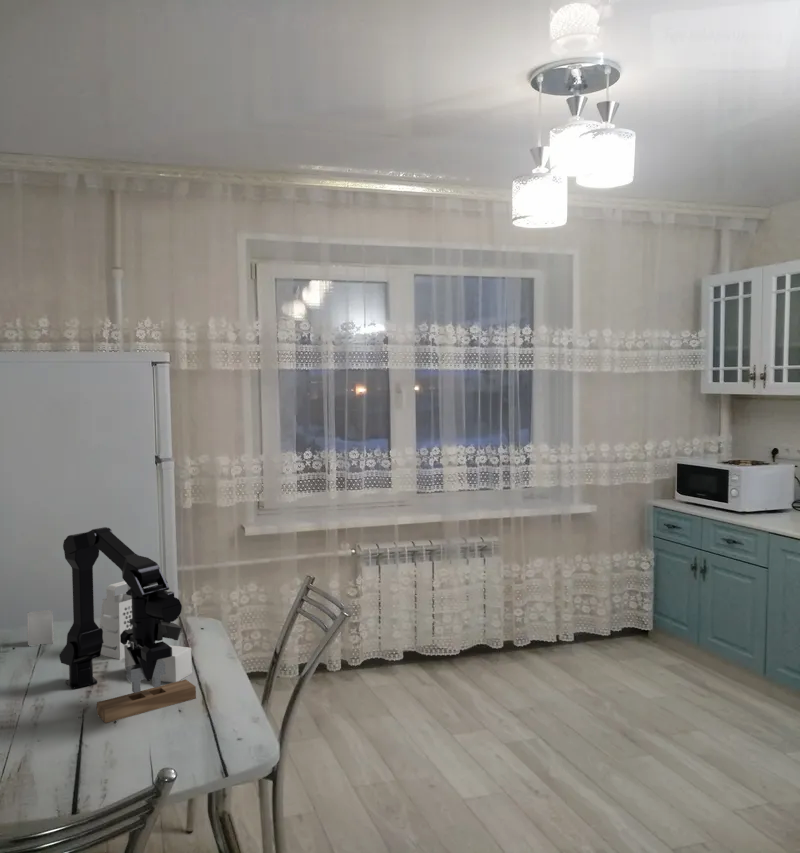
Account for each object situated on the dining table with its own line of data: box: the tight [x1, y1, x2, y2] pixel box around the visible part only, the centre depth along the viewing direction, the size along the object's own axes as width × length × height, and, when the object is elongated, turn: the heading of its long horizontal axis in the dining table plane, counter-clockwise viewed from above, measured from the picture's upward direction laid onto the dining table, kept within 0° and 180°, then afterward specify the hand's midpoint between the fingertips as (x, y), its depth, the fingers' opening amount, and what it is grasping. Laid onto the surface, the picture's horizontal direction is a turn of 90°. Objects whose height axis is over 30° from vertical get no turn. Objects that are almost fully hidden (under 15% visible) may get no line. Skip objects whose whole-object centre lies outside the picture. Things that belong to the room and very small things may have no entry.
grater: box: [98, 580, 132, 660], centre depth 228 cm, size 10×10×20 cm
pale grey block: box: [26, 609, 55, 646], centre depth 236 cm, size 4×7×10 cm, turn 109°
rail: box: [96, 679, 197, 724], centre depth 188 cm, size 6×22×3 cm, turn 128°
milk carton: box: [124, 644, 193, 683], centre depth 209 cm, size 7×7×19 cm
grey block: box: [125, 659, 166, 693], centre depth 188 cm, size 3×8×6 cm, turn 128°
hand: (146, 678), depth 188 cm, fingers closed on grey block, 3 cm apart
